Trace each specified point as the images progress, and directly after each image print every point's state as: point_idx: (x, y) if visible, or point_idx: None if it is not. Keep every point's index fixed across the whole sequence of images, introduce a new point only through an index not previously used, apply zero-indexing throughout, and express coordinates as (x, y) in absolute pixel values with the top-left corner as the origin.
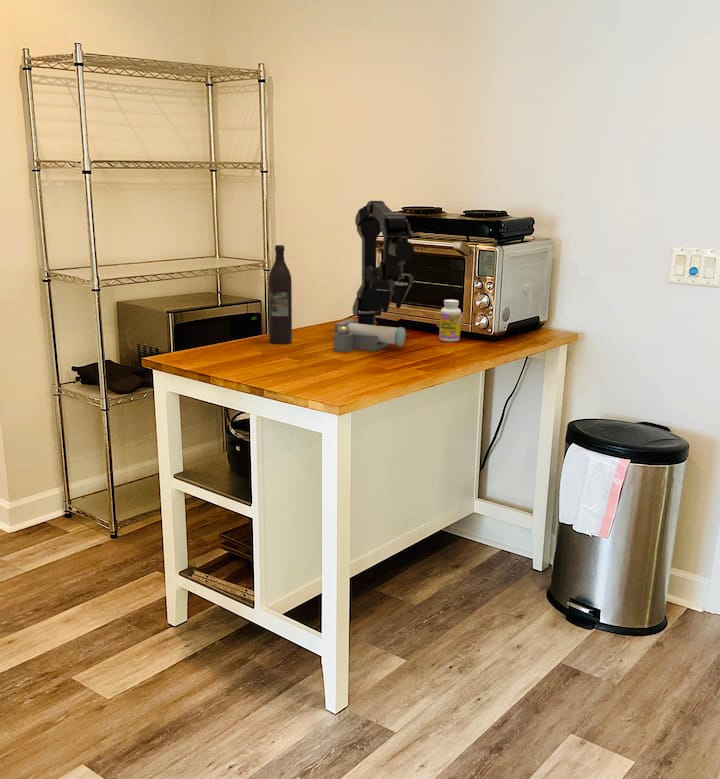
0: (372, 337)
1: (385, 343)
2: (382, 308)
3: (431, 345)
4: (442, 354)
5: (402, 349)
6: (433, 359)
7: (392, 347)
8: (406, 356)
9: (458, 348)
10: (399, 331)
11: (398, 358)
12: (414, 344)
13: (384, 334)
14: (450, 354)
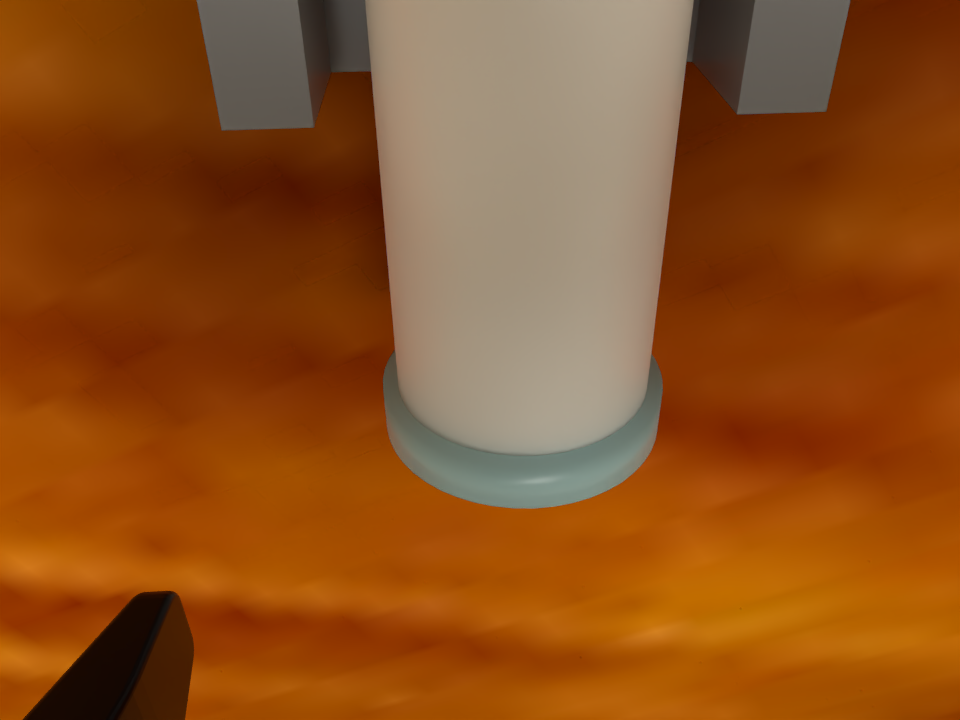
0: (216, 58)
1: None
2: (66, 674)
3: (927, 434)
4: (554, 626)
5: None
6: (325, 641)
7: None
8: (275, 452)
9: (859, 631)
10: (440, 476)
11: (135, 432)
12: (931, 278)
13: (387, 230)
14: (587, 662)
